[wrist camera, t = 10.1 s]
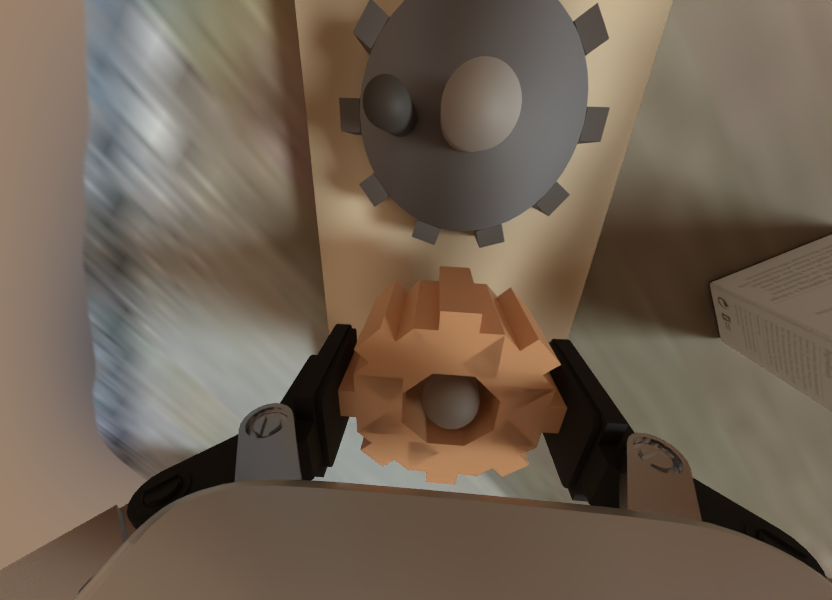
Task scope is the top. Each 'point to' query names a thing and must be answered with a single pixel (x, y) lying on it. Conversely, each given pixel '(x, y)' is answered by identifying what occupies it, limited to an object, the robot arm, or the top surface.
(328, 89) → the gear board
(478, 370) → the loose gear
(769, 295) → the skincare box
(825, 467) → the top surface
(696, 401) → the top surface
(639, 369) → the top surface
